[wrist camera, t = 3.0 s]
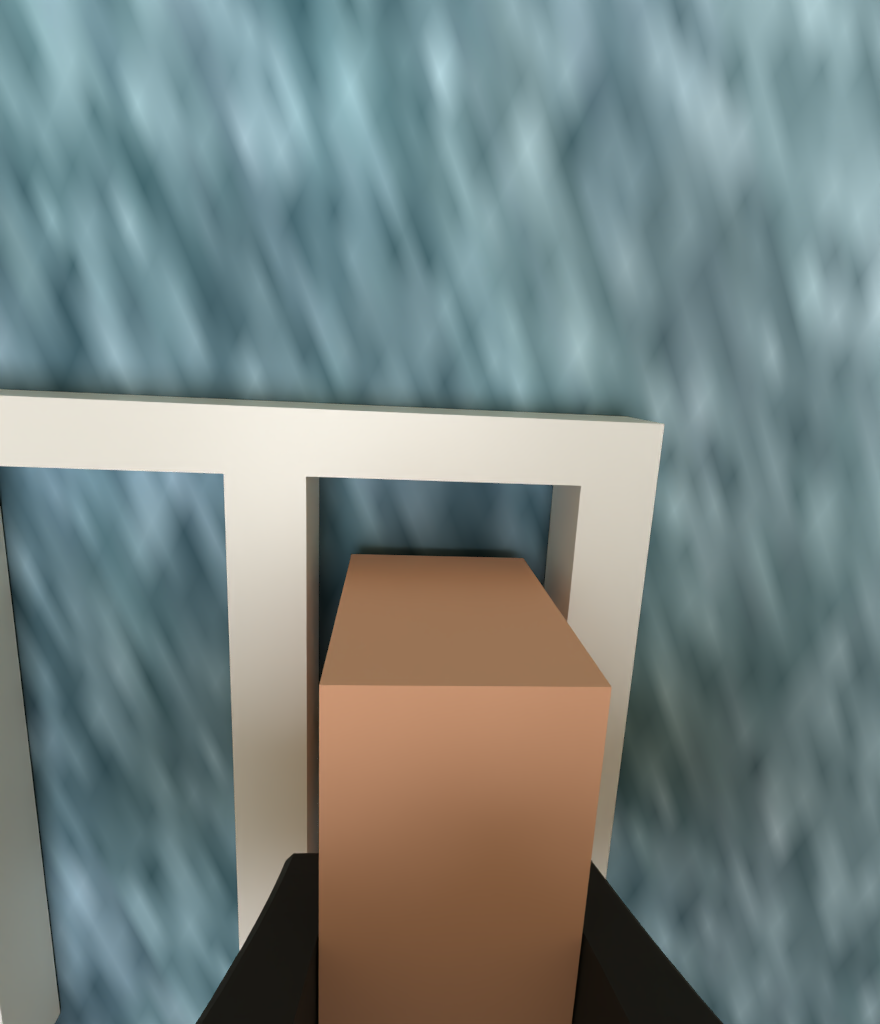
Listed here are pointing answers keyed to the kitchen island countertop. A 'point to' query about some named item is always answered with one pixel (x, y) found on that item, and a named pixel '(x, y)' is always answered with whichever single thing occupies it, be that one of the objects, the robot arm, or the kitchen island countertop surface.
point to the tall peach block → (454, 795)
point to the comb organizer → (313, 592)
